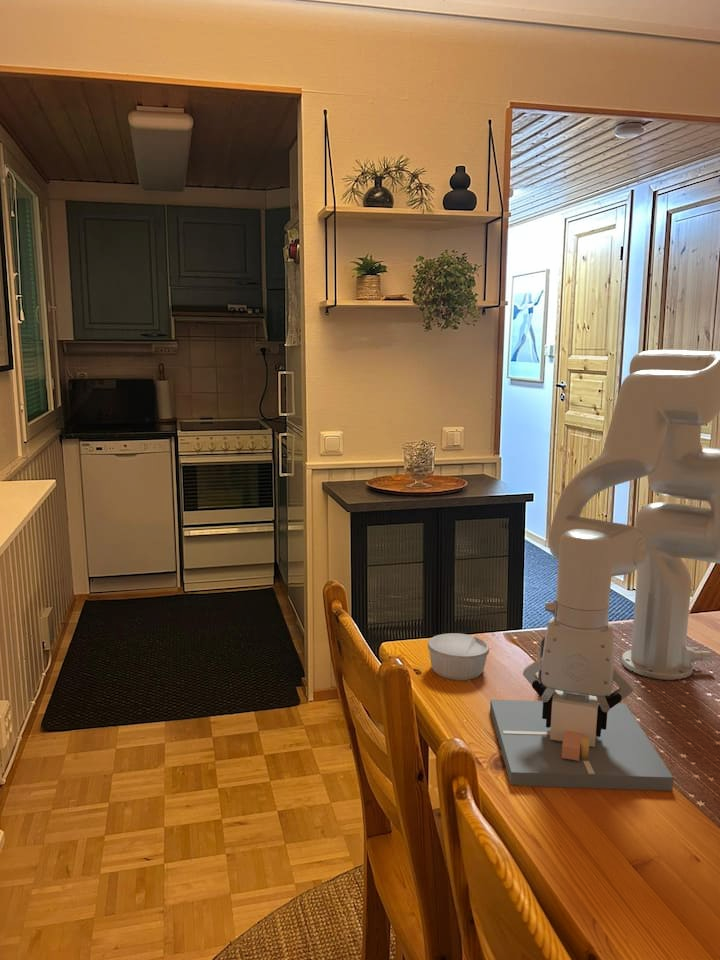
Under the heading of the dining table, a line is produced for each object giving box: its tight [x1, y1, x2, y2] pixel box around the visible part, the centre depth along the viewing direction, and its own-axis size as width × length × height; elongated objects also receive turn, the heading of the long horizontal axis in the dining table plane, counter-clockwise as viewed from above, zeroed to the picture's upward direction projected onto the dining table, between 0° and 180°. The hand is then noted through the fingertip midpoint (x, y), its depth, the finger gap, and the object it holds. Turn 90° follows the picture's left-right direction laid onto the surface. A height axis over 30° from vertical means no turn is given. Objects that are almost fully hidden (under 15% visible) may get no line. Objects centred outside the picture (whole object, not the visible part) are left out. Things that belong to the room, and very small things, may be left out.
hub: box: [550, 690, 599, 761], centre depth 114 cm, size 11×6×6 cm, turn 162°
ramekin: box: [427, 632, 490, 681], centre depth 143 cm, size 11×11×5 cm
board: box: [489, 692, 674, 792], centre depth 116 cm, size 22×22×9 cm
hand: (573, 727), depth 116 cm, fingers closed on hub, 6 cm apart
